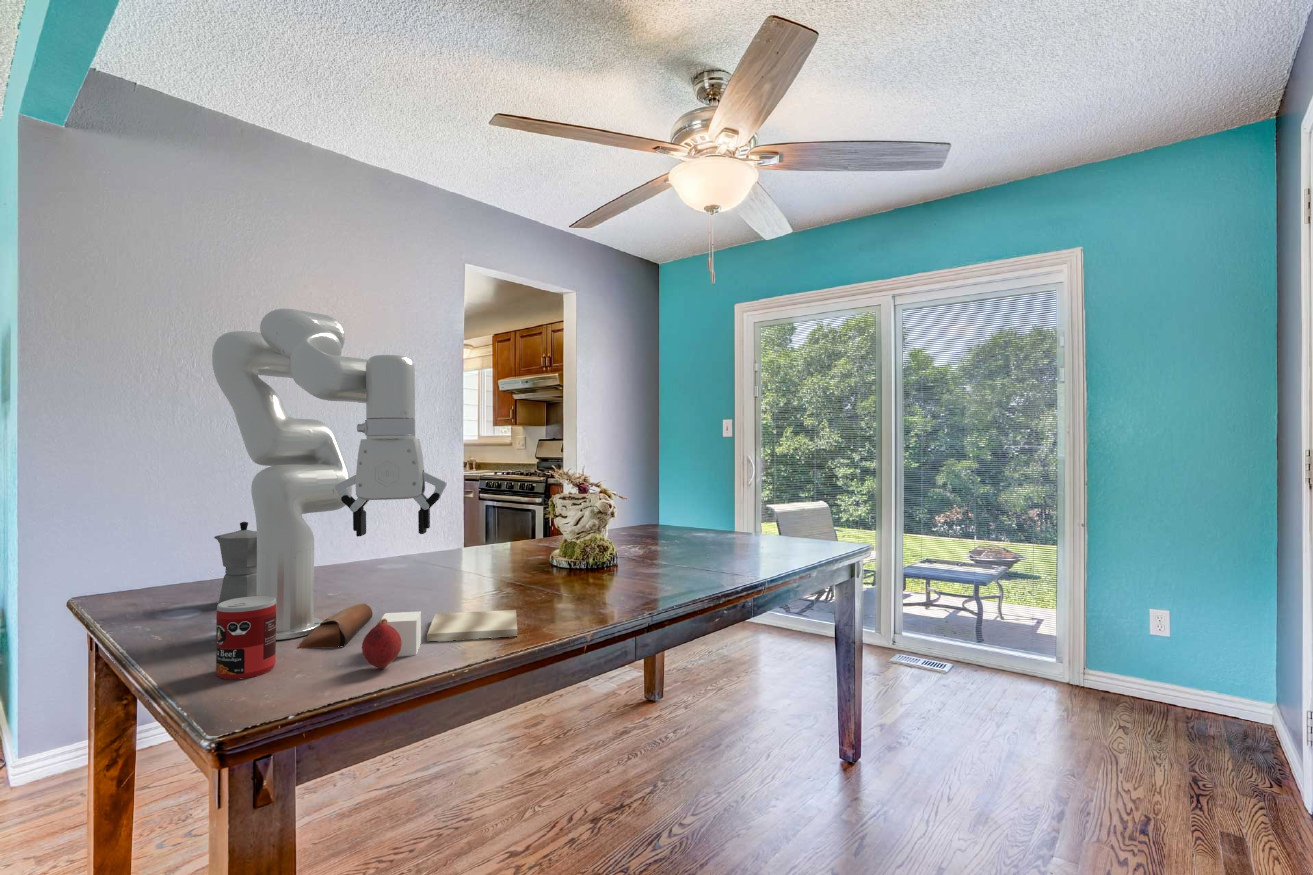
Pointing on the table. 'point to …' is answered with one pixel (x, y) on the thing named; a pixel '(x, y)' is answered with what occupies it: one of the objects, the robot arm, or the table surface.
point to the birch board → (472, 625)
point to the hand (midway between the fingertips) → (392, 534)
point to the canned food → (245, 637)
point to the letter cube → (406, 630)
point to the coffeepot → (239, 563)
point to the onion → (381, 645)
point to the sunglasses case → (338, 627)
